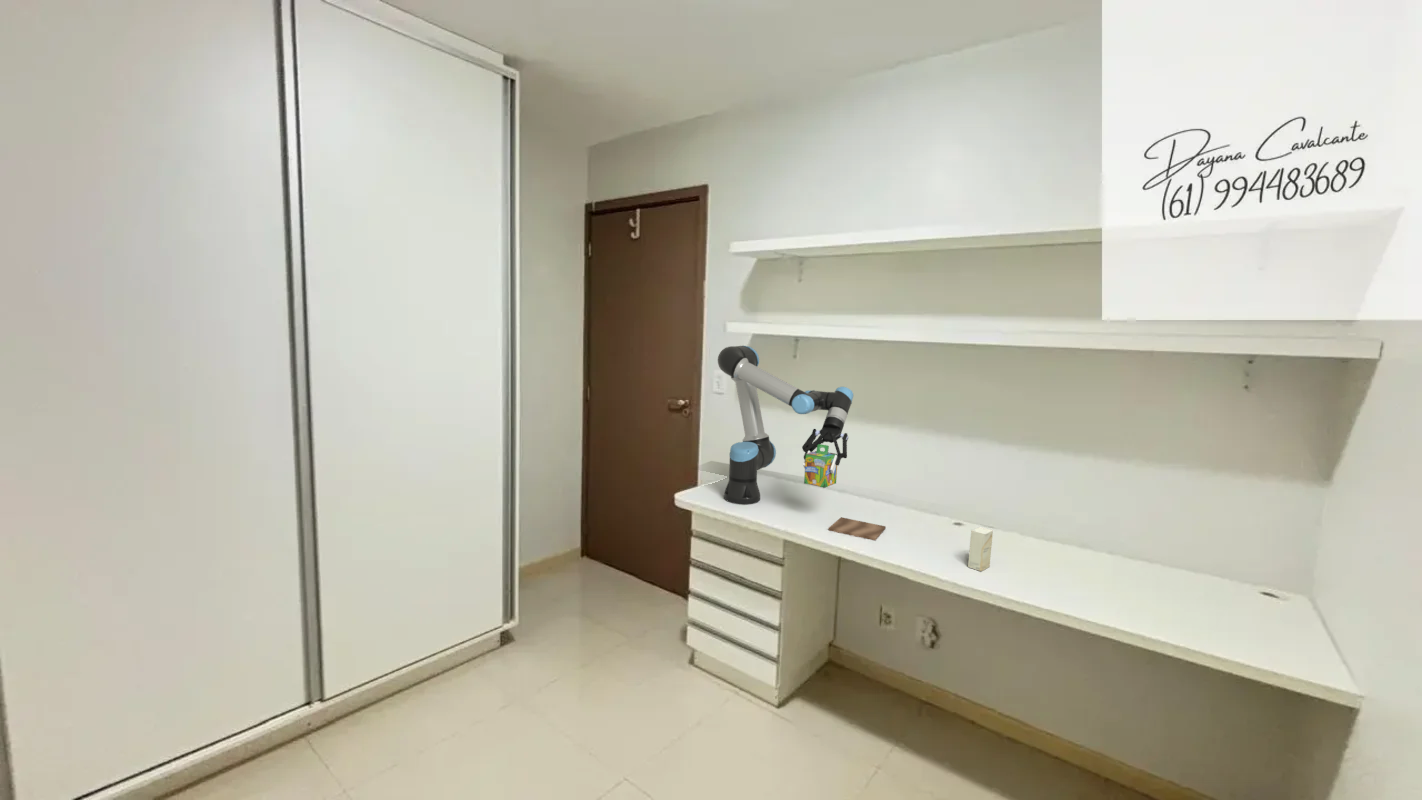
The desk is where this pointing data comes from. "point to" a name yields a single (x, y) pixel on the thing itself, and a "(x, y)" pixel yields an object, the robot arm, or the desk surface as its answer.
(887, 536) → the desk surface
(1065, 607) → the desk surface
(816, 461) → the chalk box
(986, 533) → the skincare box
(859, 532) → the walnut board
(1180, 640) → the desk surface
